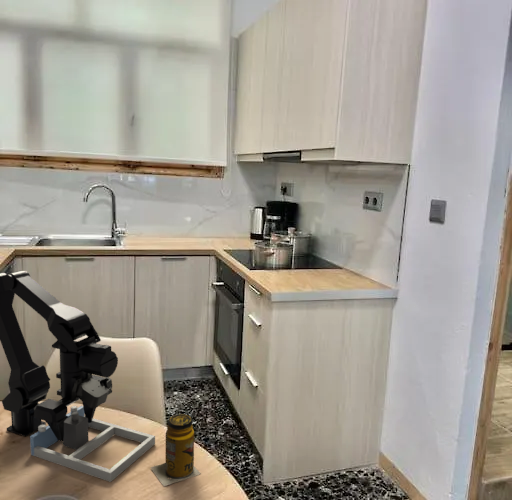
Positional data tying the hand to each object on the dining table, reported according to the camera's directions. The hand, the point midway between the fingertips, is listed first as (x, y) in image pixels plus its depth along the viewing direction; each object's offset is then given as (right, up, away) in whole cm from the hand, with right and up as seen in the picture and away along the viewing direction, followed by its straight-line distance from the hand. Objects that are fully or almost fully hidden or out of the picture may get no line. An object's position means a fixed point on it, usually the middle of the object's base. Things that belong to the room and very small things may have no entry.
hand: (75, 431), depth 117 cm
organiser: (+5, -4, -2) cm, 6 cm away
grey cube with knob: (0, -3, 0) cm, 3 cm away
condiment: (+25, -6, -9) cm, 27 cm away
